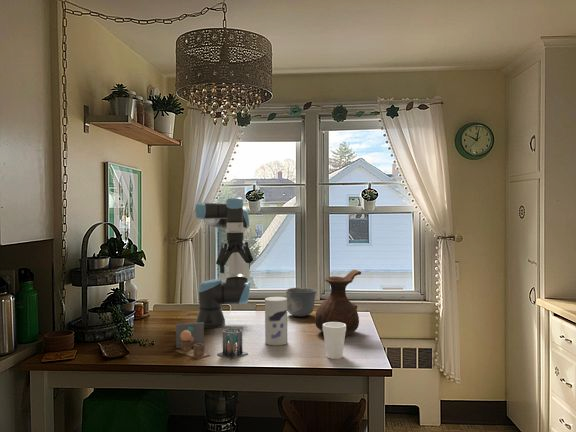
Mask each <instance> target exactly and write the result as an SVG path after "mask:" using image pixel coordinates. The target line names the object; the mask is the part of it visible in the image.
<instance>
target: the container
mask: <svg viewBox="0 0 576 432" xmlns="http://www.w3.org/2000/svg"><path fill="white" fill-rule="evenodd" d="M264 310H265V311H264V329H265V330H264V331H265V333H264V334H265V336H264V337H265V338H264V339H265V341H264V342H265V344H266V345H269V346H282V345H283V346H284V345H286V344H288V310H287V297H284V296H269V297H265V298H264Z"/></svg>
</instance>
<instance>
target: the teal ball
mask: <svg viewBox="0 0 576 432" xmlns="http://www.w3.org/2000/svg"><path fill="white" fill-rule="evenodd" d="M231 333H236V332H235V331H234V332H232V331H231ZM229 342H230V343H231V336H230V334H228V343H229ZM233 344H237V334H233Z"/></svg>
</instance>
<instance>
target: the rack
mask: <svg viewBox="0 0 576 432" xmlns="http://www.w3.org/2000/svg"><path fill="white" fill-rule="evenodd" d="M175 352H176V353H179V354H183V355H185V356H187V357H191V358H194V359H197V360H199V359H204V358H207V357H210V356H211V354H209V353H205V343H204V344H201V343H198V344H194V347H193V348H192V347H191V340H189V341H183V340H182V341H181V348H180V349H179V348H178V349H176V350H175Z"/></svg>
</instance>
